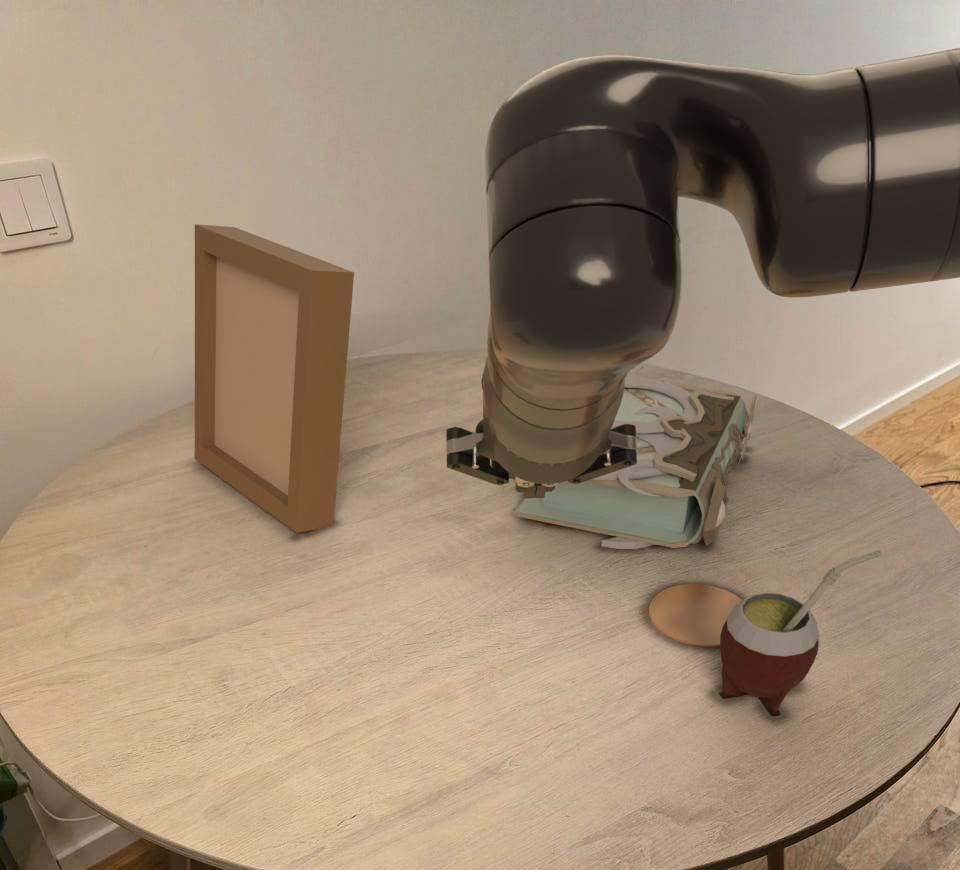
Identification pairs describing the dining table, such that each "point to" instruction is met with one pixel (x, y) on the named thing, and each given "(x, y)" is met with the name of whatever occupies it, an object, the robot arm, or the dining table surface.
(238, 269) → the photo frame
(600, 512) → the ornate book
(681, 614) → the shallow brown plate
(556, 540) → the dining table surface
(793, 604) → the mate gourd
